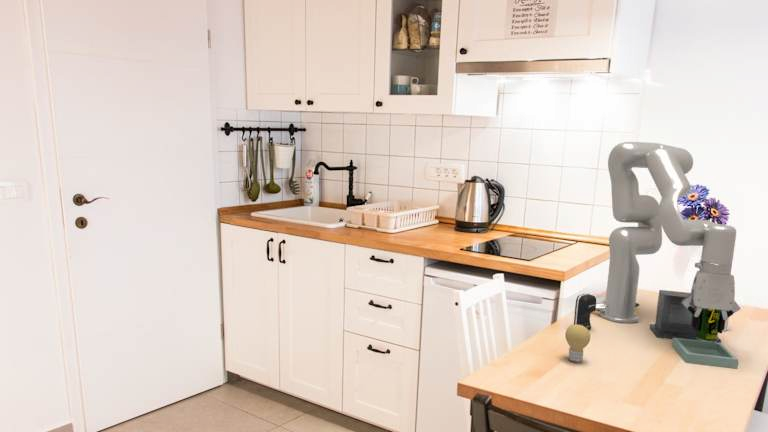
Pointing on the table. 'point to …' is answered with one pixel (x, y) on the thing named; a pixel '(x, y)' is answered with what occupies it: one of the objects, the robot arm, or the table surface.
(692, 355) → the tray
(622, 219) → the robot arm
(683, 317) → the housing
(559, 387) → the table surface
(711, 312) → the beer can
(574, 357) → the light bulb
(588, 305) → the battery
